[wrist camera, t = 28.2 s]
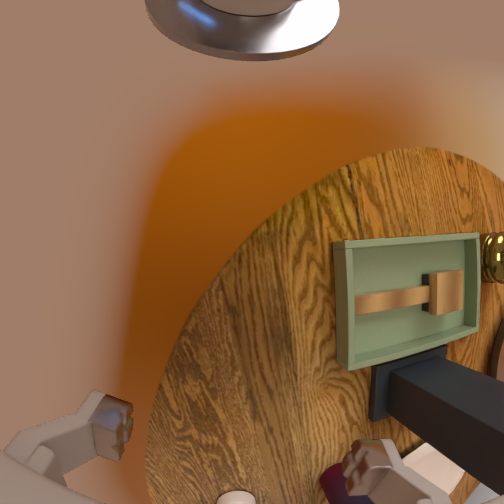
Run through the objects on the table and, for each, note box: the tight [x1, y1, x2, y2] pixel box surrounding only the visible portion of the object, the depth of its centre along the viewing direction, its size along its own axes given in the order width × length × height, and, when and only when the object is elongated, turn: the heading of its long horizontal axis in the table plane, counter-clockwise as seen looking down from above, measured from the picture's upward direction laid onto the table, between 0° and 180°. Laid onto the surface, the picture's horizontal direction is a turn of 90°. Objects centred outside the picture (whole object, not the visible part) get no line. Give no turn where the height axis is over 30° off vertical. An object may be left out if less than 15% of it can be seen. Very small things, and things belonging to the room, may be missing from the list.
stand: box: [369, 344, 504, 496], centre depth 22 cm, size 8×12×26 cm, turn 94°
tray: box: [332, 233, 481, 371], centre depth 33 cm, size 14×22×3 cm, turn 94°
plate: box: [402, 442, 465, 496], centre depth 35 cm, size 25×25×2 cm
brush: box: [354, 269, 463, 316], centre depth 32 cm, size 16×5×3 cm, turn 94°
